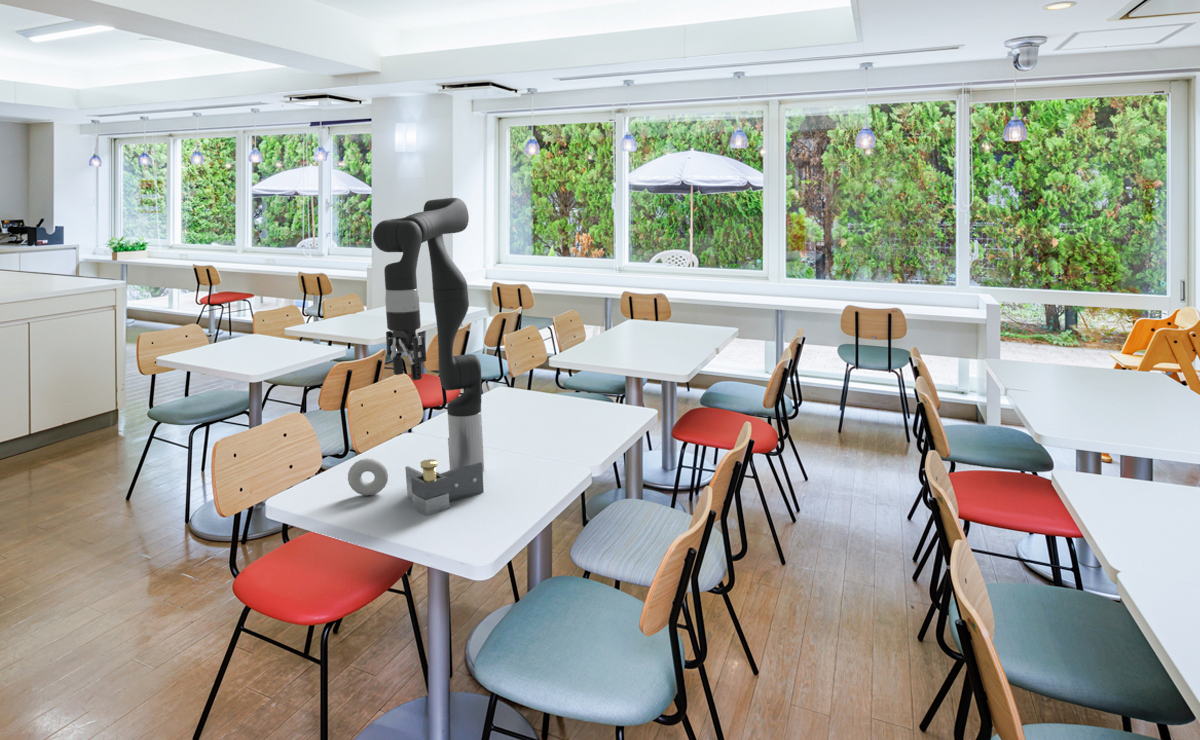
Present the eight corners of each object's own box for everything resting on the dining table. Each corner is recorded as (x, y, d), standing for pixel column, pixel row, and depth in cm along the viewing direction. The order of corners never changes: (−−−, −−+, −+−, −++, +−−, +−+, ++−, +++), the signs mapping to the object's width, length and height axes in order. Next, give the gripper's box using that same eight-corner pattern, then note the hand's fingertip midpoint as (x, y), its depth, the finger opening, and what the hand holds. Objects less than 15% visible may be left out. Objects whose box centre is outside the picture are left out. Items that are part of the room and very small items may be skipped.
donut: (348, 499, 184) (344, 462, 182) (350, 494, 187) (347, 457, 185) (388, 496, 185) (385, 459, 183) (390, 491, 189) (387, 455, 187)
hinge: (397, 499, 183) (395, 469, 181) (459, 480, 195) (457, 452, 194) (426, 515, 173) (424, 484, 171) (489, 494, 185) (488, 465, 183)
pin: (420, 508, 177) (417, 462, 175) (435, 503, 180) (431, 458, 177) (429, 512, 174) (425, 466, 172) (443, 508, 177) (440, 462, 175)
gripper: (433, 309, 164) (437, 379, 167) (402, 304, 174) (407, 370, 177) (403, 313, 159) (408, 384, 162) (373, 307, 169) (378, 375, 172)
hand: (407, 377), depth 170 cm, fingers open, 8 cm apart
